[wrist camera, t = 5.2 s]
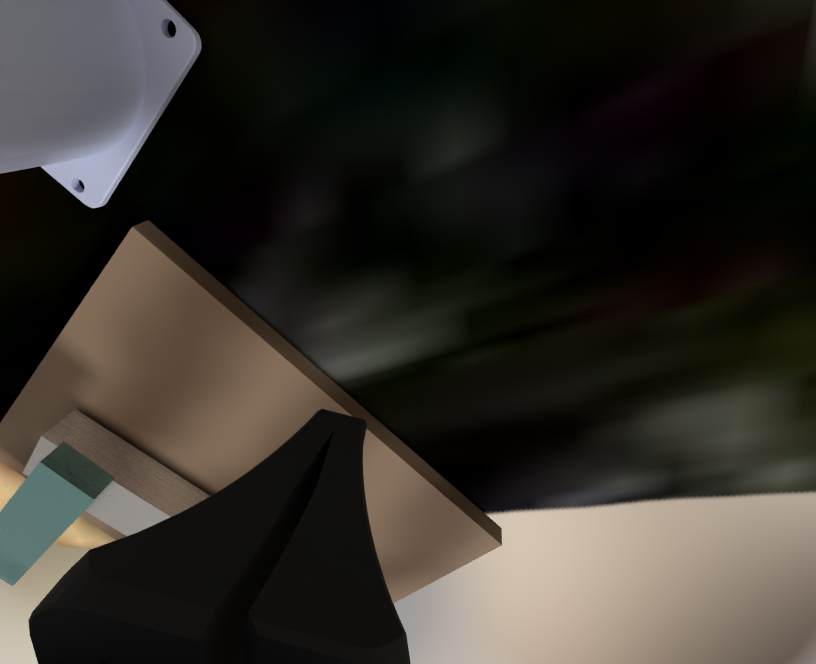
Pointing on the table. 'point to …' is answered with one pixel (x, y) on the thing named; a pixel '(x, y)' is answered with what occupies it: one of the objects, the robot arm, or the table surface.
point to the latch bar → (121, 476)
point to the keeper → (46, 507)
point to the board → (226, 404)
